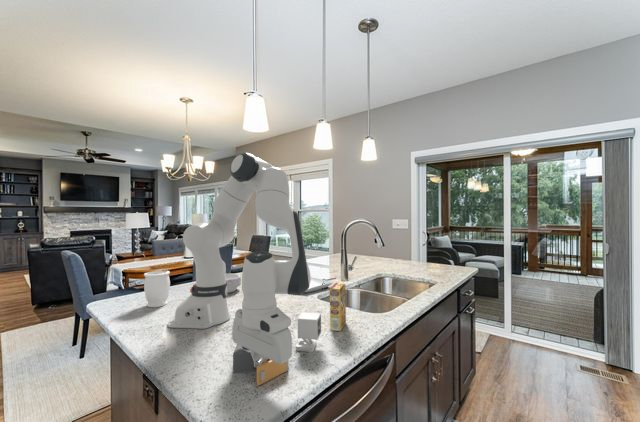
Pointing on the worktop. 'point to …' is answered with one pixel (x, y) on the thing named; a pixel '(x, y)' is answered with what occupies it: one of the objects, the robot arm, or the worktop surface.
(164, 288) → the jar
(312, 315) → the security camera
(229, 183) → the robot arm
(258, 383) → the door
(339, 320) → the candy box
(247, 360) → the grey knob box
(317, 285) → the salad plate
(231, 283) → the paper bowls
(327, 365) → the worktop surface
